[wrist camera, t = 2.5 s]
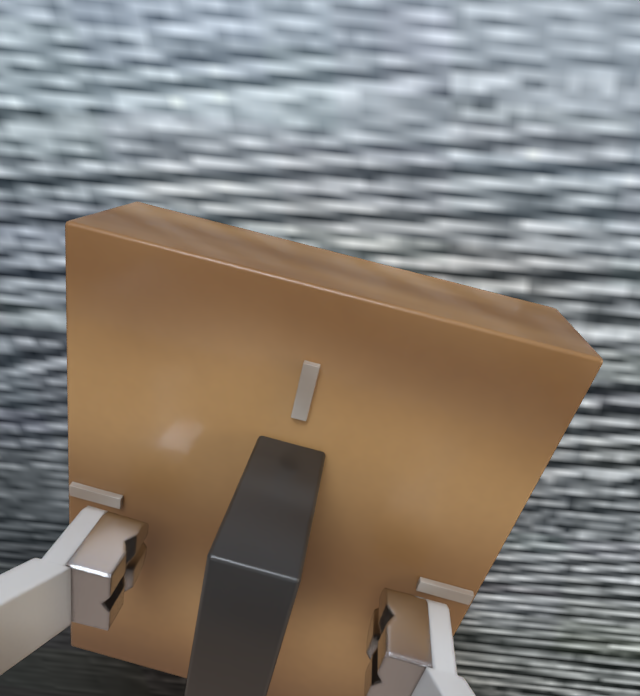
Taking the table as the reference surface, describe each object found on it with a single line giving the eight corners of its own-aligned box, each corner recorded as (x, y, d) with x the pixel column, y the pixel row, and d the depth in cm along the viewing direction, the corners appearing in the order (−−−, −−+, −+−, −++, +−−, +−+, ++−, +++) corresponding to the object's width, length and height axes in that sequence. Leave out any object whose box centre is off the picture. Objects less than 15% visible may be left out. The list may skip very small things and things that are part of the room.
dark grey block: (259, 433, 11) (200, 567, 8) (327, 450, 11) (298, 595, 8) (222, 613, 14) (167, 770, 10) (276, 628, 14) (239, 791, 10)
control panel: (135, 200, 12) (57, 221, 9) (557, 307, 12) (610, 364, 9) (117, 570, 18) (66, 651, 15) (396, 648, 18) (398, 746, 15)
